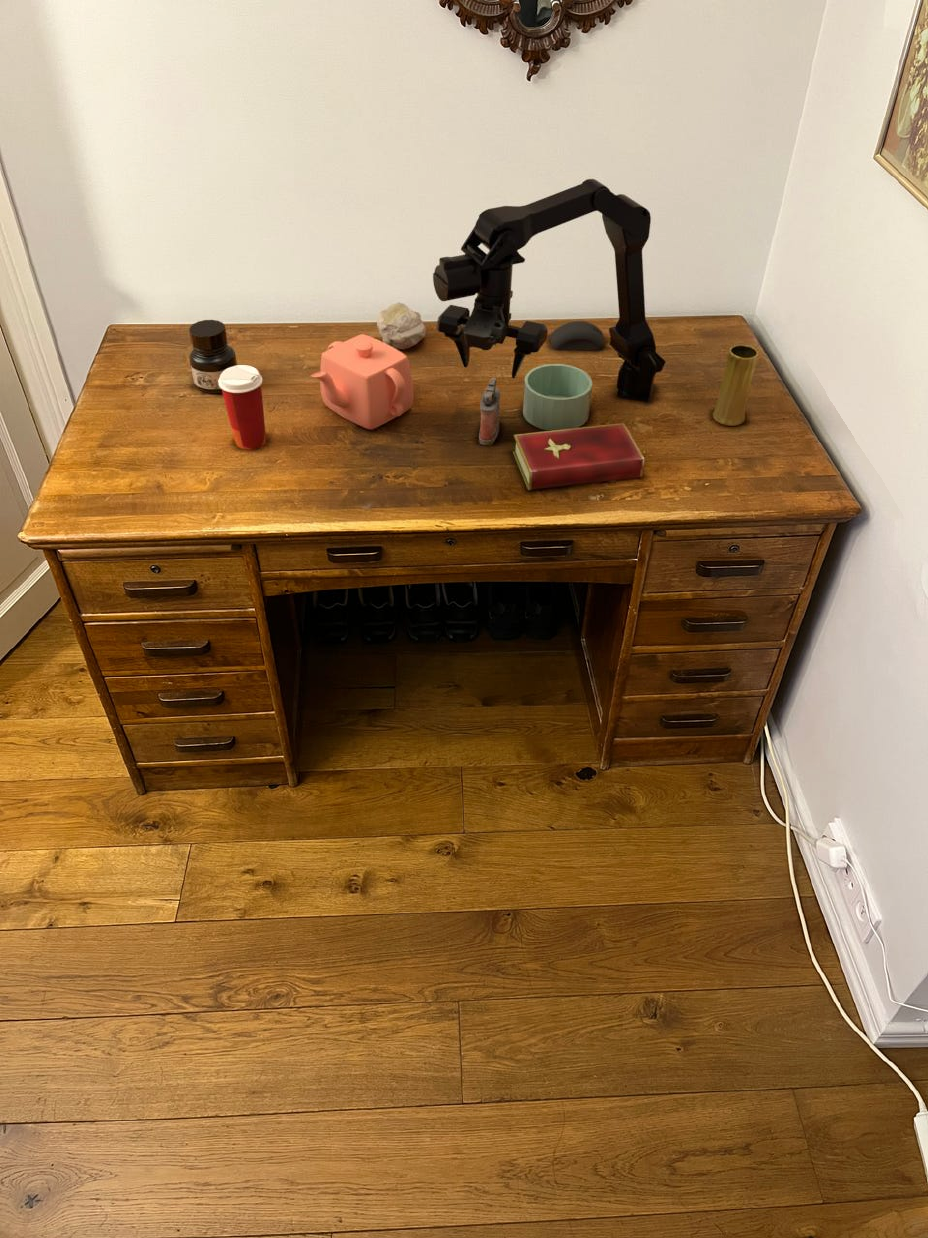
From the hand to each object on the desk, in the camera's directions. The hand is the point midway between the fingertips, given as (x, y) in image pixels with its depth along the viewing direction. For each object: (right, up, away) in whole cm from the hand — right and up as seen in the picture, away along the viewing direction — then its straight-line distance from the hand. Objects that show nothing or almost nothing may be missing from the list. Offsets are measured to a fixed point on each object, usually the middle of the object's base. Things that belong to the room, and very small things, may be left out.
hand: (489, 371), depth 177 cm
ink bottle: (-54, +3, +21) cm, 58 cm away
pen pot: (+13, -4, +14) cm, 20 cm away
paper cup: (-45, -12, +6) cm, 46 cm away
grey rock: (-18, +14, +33) cm, 40 cm away
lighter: (0, -9, +9) cm, 13 cm away
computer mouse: (+20, +15, +34) cm, 42 cm away
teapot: (-25, -5, +13) cm, 29 cm away
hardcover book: (+16, -17, +2) cm, 23 cm away
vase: (+47, -6, +14) cm, 49 cm away
